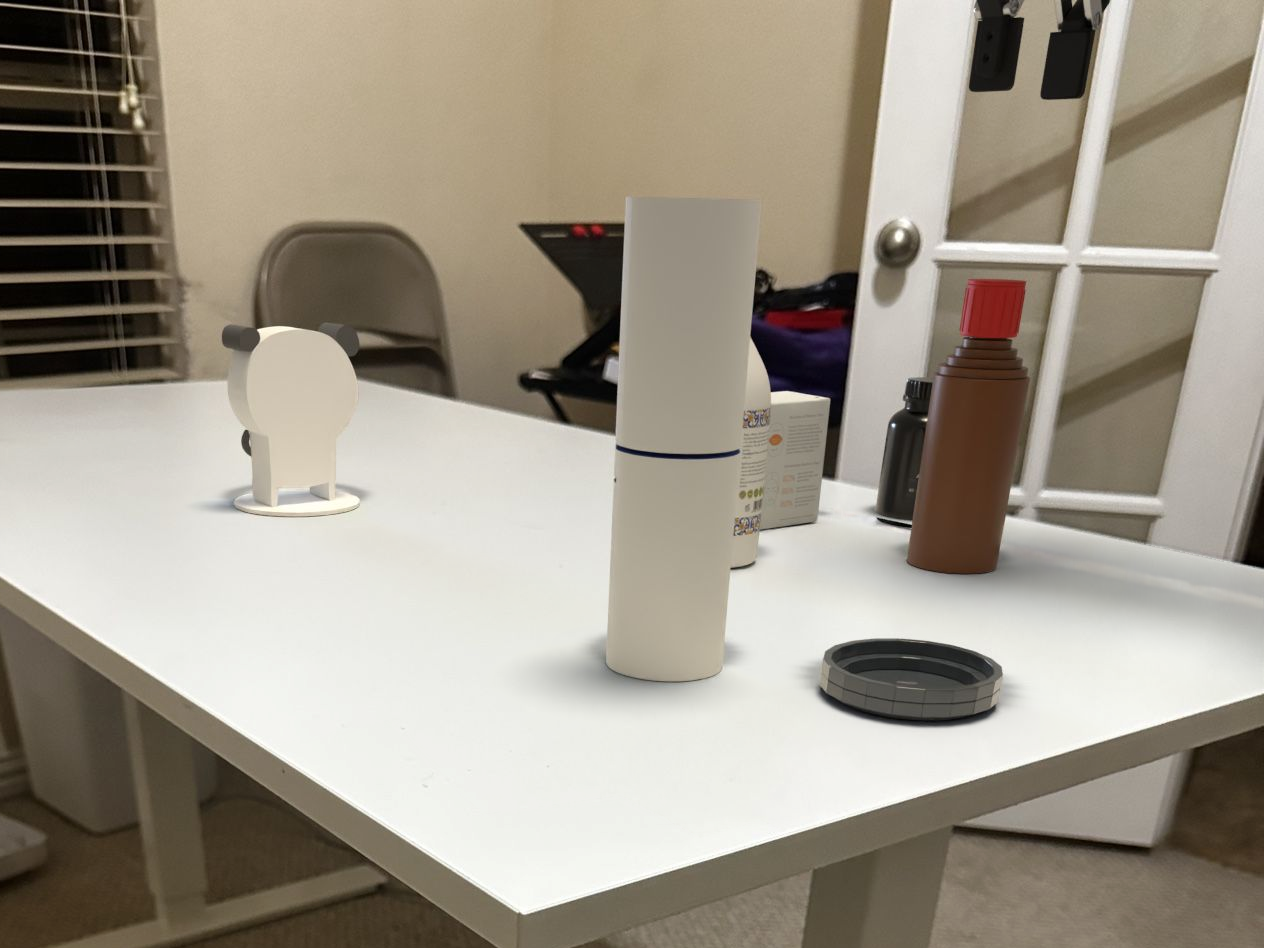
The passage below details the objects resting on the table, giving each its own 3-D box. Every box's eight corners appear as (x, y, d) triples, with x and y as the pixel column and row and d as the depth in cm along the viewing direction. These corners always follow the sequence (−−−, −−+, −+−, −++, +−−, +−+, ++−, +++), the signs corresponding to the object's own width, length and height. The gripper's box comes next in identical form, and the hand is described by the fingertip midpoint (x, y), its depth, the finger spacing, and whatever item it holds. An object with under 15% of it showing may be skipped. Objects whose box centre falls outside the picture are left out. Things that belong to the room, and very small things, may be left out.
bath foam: (757, 552, 112) (782, 279, 102) (756, 572, 106) (782, 284, 96) (672, 548, 113) (689, 277, 103) (666, 567, 107) (683, 281, 97)
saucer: (1031, 701, 79) (1037, 668, 78) (925, 737, 73) (931, 701, 72) (890, 660, 86) (895, 629, 85) (784, 690, 80) (787, 656, 79)
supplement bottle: (923, 533, 120) (945, 386, 114) (859, 521, 124) (877, 378, 118) (966, 524, 124) (990, 381, 118) (902, 512, 128) (922, 373, 122)
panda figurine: (327, 488, 133) (318, 318, 126) (389, 507, 125) (383, 327, 118) (213, 500, 127) (196, 321, 119) (271, 521, 119) (257, 331, 112)
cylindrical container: (636, 686, 80) (663, 197, 68) (587, 652, 86) (603, 196, 74) (743, 674, 82) (787, 200, 70) (688, 642, 88) (721, 199, 76)
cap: (1028, 336, 101) (1038, 281, 100) (996, 339, 99) (1005, 282, 97) (980, 332, 104) (989, 278, 102) (948, 334, 102) (956, 279, 100)
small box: (776, 512, 127) (788, 390, 122) (818, 522, 123) (833, 397, 118) (710, 520, 123) (719, 394, 118) (752, 531, 119) (763, 402, 114)
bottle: (1014, 566, 109) (1065, 288, 100) (962, 578, 105) (1010, 289, 96) (941, 550, 114) (983, 282, 104) (888, 561, 110) (927, 284, 100)
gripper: (1056, -279, 78) (1000, 84, 87) (1205, -220, 88) (1142, 100, 97) (946, -251, 83) (904, 89, 92) (1099, -199, 93) (1048, 104, 102)
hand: (1026, 93), depth 94 cm, fingers open, 8 cm apart
